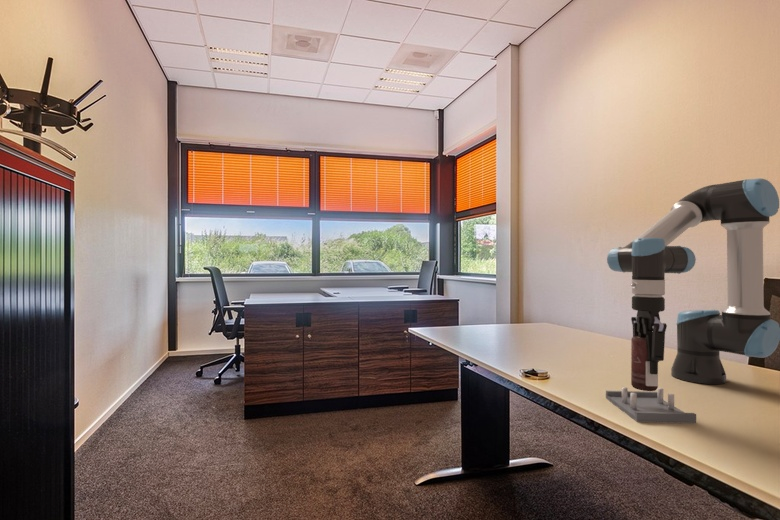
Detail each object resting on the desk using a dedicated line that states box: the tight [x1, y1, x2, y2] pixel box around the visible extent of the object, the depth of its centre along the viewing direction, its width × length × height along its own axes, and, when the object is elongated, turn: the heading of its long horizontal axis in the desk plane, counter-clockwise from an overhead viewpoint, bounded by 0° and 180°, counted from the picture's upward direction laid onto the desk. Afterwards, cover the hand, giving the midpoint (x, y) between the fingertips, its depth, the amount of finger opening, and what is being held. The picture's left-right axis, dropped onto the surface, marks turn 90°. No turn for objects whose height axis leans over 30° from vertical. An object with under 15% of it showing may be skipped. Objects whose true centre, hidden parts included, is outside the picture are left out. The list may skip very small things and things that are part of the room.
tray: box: [605, 386, 697, 424], centre depth 113 cm, size 14×18×5 cm
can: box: [630, 334, 659, 392], centre depth 114 cm, size 6×6×14 cm
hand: (647, 383), depth 113 cm, fingers open, 3 cm apart
